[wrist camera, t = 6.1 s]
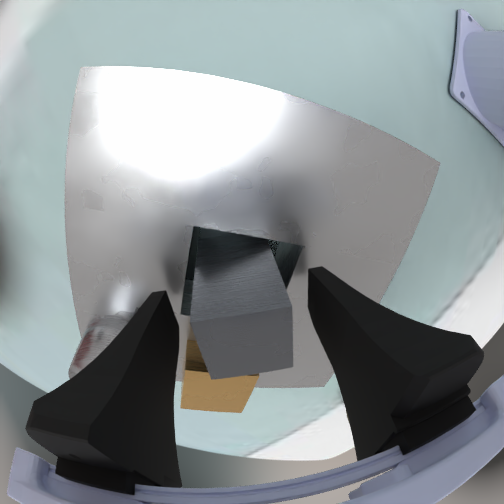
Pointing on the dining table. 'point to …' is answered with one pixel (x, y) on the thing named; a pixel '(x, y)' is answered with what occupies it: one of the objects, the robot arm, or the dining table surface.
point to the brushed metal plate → (226, 206)
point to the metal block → (240, 306)
